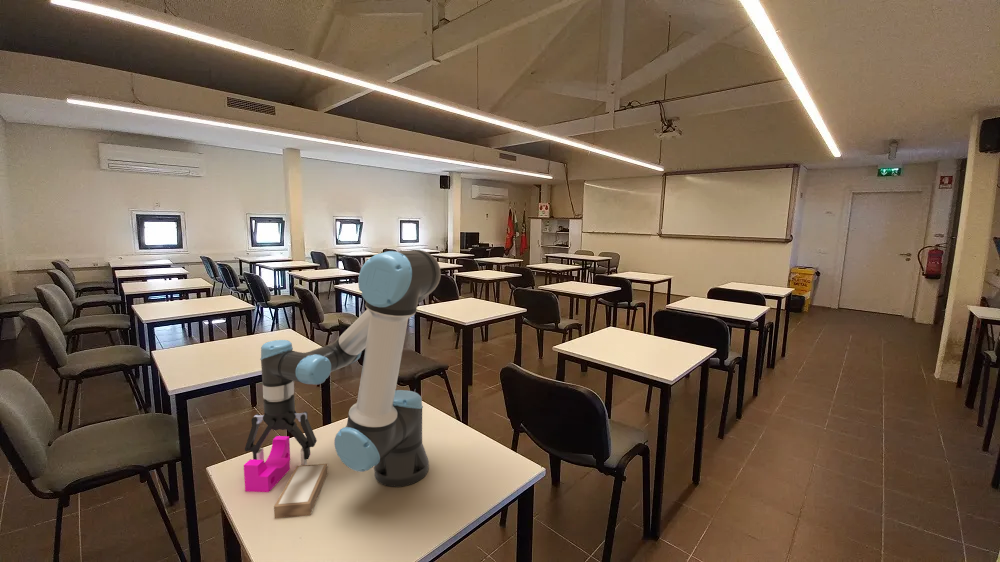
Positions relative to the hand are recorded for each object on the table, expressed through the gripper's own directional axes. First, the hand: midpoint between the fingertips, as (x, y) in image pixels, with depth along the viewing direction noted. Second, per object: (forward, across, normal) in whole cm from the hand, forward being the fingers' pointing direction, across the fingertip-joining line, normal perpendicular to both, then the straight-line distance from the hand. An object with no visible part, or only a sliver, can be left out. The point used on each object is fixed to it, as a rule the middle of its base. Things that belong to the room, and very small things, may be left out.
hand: (282, 470), depth 116 cm
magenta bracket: (+1, +2, +1) cm, 2 cm away
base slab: (0, -9, +11) cm, 14 cm away
